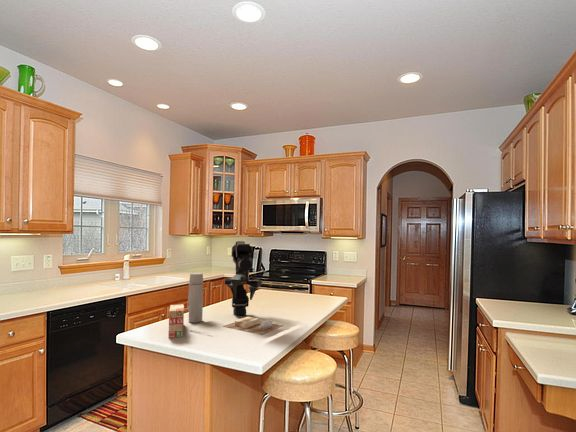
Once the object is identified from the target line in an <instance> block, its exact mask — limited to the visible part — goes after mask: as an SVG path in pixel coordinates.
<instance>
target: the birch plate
mask: <svg viewBox="0 0 576 432" xmlns="http://www.w3.org/2000/svg"><path fill="white" fill-rule="evenodd" d="M259 321H260V319H259V318H257V317H253V316H252V317H251V316H244V317H242V318H239V319H237V320H234V322H235V326H237V327H242V328H248V327H251V326H254V325H256V324H259Z"/></svg>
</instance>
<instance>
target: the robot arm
mask: <svg viewBox="0 0 576 432" xmlns="http://www.w3.org/2000/svg"><path fill="white" fill-rule="evenodd" d="M253 256H254V252H253V248H252V245H251V244H250V243H245V241H243V240H241V241H235V244H234V245H233V246H232V247H231V257H232V261H233V263H234V265H235V274H234V275H233V276H232V277H228V278H225V279H224V285H226V287H228V288H229V289H230V291H231V294H232V296H231V297H232V298H231V307H232V308H233V312H232V313H233V316H235V317H247V308H248V307H249V303H250V301H252V300H253V297H254V295H255V293H256V291H257V289H258V288H260V286H262V285H263V284H262V283H263V282H262V280H261V279H252V280H251V278H250V272H251V270H250V269H251V268H252V262H251V260H250V258H253ZM245 285H249V296H248V291H247V290H246V289H245V287H244V286H245Z"/></svg>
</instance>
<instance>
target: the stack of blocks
mask: <svg viewBox="0 0 576 432" xmlns="http://www.w3.org/2000/svg"><path fill="white" fill-rule="evenodd" d="M169 306H170V307H169V310H168V311H169V312H168V339H176V338H183V337H184V325H185V324H184V323H185V322H184V318H185V311H184V310H185V306H184V304H182V303H181V304H170V305H169Z"/></svg>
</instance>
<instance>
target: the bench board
mask: <svg viewBox="0 0 576 432" xmlns="http://www.w3.org/2000/svg"><path fill="white" fill-rule="evenodd" d="M261 322H262V321H260V320H259V324H256V325H254V326H251V327H248V328H242V327H237V326H235V321H233V322H232V323H228V324H225V325H222V328H226V329H233V330H235V331H241V332H247V333H251V334H254V335H260V336H263V335H266V334H268V333H271V332H273V331H275V330H277V329H280V328H282V327H284V325H281V324H277V323H272V328H269V329H267V330H264V331H262V330H261Z"/></svg>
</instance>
